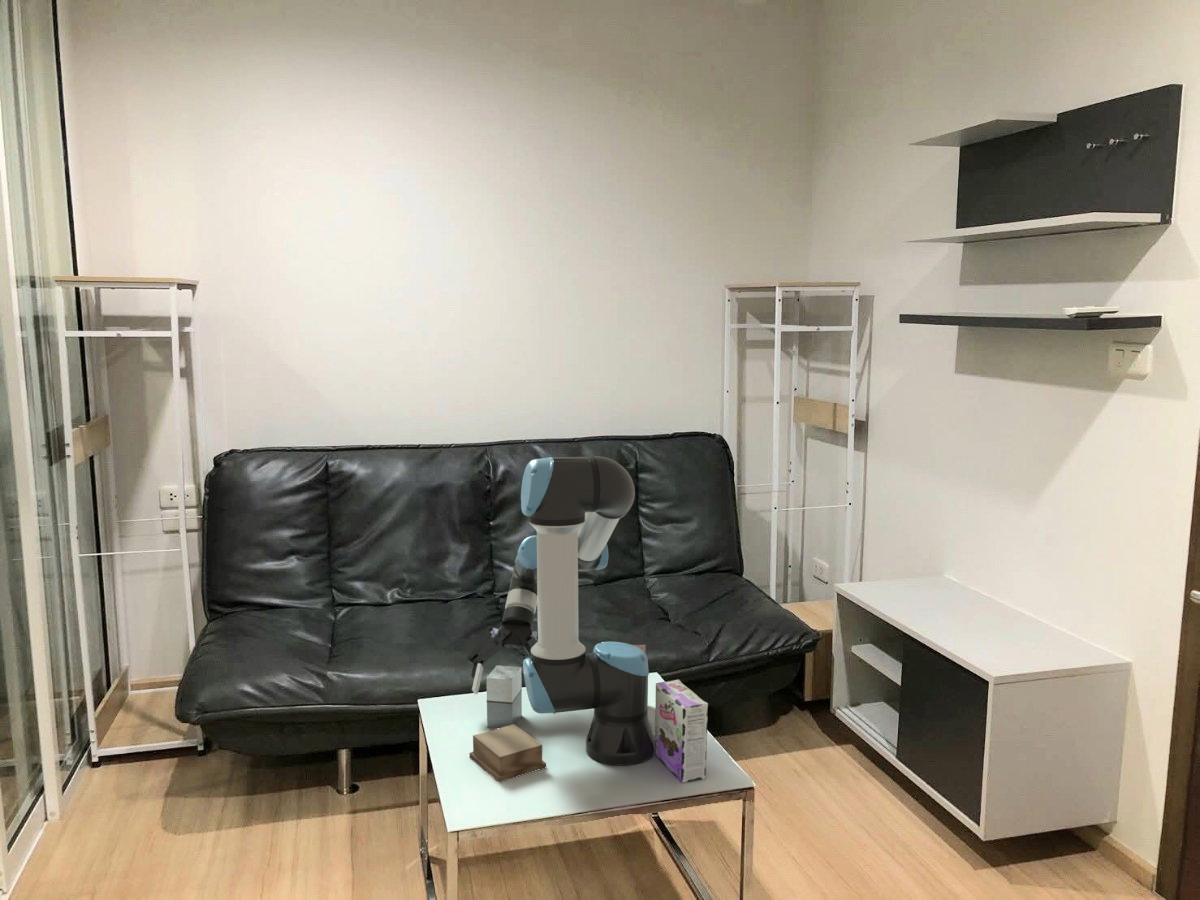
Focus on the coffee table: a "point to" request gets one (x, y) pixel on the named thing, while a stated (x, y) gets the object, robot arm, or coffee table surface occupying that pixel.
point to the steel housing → (504, 696)
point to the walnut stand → (507, 752)
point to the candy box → (681, 730)
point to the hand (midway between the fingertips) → (502, 694)
